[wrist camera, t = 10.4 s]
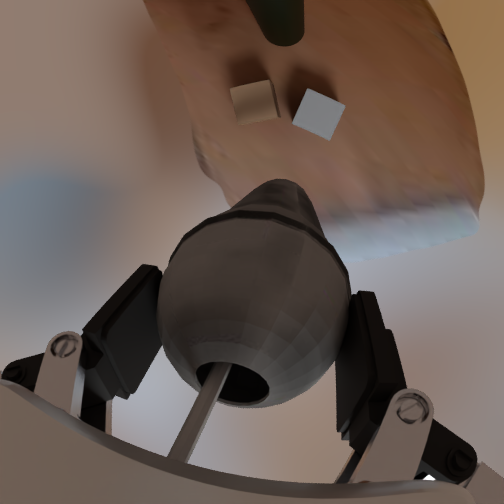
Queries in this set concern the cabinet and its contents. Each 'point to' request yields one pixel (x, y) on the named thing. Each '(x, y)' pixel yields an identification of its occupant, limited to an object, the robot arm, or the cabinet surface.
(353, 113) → the cabinet surface
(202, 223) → the beverage cup
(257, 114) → the walnut block
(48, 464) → the robot arm
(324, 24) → the cabinet surface
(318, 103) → the light grey cube
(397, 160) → the cabinet surface
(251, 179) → the cabinet surface
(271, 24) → the wine bottle
